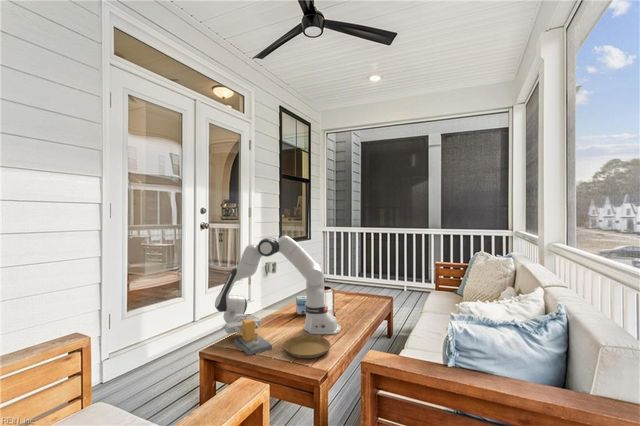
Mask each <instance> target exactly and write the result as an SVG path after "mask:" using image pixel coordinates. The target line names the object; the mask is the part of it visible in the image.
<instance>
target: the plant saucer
mask: <svg viewBox="0 0 640 426" xmlns="http://www.w3.org/2000/svg"><path fill="white" fill-rule="evenodd" d="M283 348H284V350H285V352H286V353H287V354H288V355H291V356H292V357H294V358H297V359H316V358H318V357H322V356H323V355H324V354H326V353H327V352H328V351H329V350H330V348H331V342H330V341H329V340H328V339H326V338H324V337H321V336H318V335H317V336H316V335H300V336H299V335H298V336H295V337H292V338H289V339H288V340H285V342H284V344H283Z"/></svg>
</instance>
